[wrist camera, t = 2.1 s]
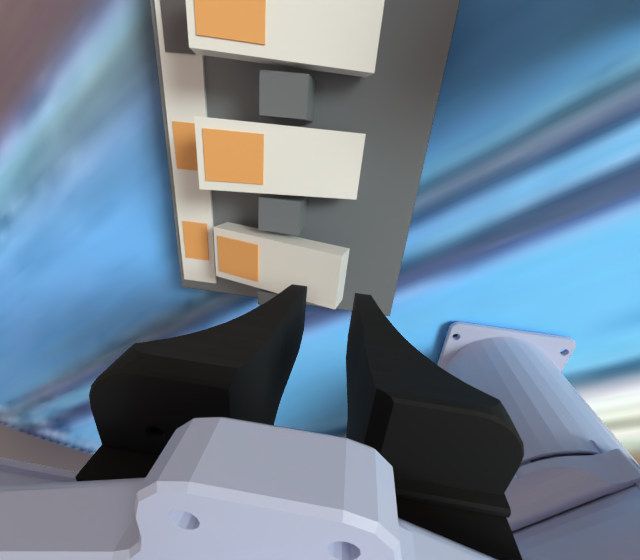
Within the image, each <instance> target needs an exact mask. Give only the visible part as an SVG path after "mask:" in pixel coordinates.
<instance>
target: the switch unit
mask: <svg viewBox="0 0 640 560" xmlns="http://www.w3.org/2000/svg"><path fill="white" fill-rule="evenodd" d="M459 3H460V0H385V2H384V9H383V16H382V23H381V30H380V37H379V44H378V51H377V58H376V65H375V72H374V74H372V75H370V76H368V77H359V76H352V75H345V74H337V73H330V72H323V71H315V70H308V69H301V68H293V67H286V66H279V65H271V64H264V63H257V62H249V61H242V60H235V59H227V58H220V57H213V56H205V55H198V54H195V53H194V52H193V51H192V50H191V49H190V48H189V40H188V27H187V13H186V0H150V6H151V15H152V24H153V33H154V42H155V51H156V60H157V68H158V77H159V86H160V95H161V104H162V113H163V122H164V131H165V140H166V149H167V158H168V167H169V176H170V184H171V193H172V202H173V211H174V220H175V229H176V238H177V247H178V256H179V265H180V274H181V283H182V287H187V288H194V289H201V290H208V291H215V292H223V293H230V294H237V295H244V296H251V297H258V304H260V305H262V304H264V303H266V302H267V301H269V300H270V299H272V298H273V297H275V296H276V295H277V294H278V293H274V292H271V291H267V290H264V289H260V288H257V287H253V286H250V285H246V284H243V283H239V282H236V281H232V280H228V279H225V278H221V277H218V276H216V264H215V247H214V230H213V227H214V226H217V225H220V224H223V223H226V222H230V223H235V224H240V225H244V226H249V227H253V228H258V230H262V231H270V232H276V233H281V234H286V235H290V236H295V237H299V238H304V239H309V240H313V241H318V242H322V243H327V244H332V245H336V246H341V247H345V248H350V250H349V257H348V264H347V271H346V278H345V285H344V292H343V299H342V301H341V302H340V303H339V305H338V306H337V308H336V309H343V310H350V311H352V309H353V302H354V296H355V293H360V294H367V295H371V296H372V297H373V299H374V300H375V302H376V303H377V305H378V306H379V308H380V309H381V311H382V312H383V314H384V315H386V316H390V312H391V308H392V303H393V299H394V294H395V290H396V285H397V281H398V276H399V272H400V267H401V263H402V258H403V254H404V249H405V245H406V240H407V236H408V231H409V227H410V222H411V218H412V213H413V209H414V205H415V200H416V196H417V191H418V187H419V182H420V178H421V173H422V169H423V164H424V160H425V155H426V151H427V146H428V142H429V137H430V133H431V128H432V124H433V119H434V115H435V110H436V106H437V101H438V97H439V92H440V88H441V83H442V79H443V75H444V70H445V66H446V61H447V57H448V52H449V48H450V43H451V39H452V34H453V30H454V25H455V21H456V16H457V12H458V7H459ZM194 116H199V117H209V118H218V119H228V120H238V121H247V122H257V123H266V124H276V125H285V126H295V127H305V128H314V129H324V130H333V131H343V132H353V133H362V134H366V136H365V143H364V150H363V157H362V164H361V171H360V178H359V185H358V192H357V199H356V200H354V199H339V198H324V197H309V196H294V195H279V194H264V193H249V192H234V191H219V190H204V189H199V176H198V163H197V149H196V136H195V122H194ZM306 304H308V305H315V306H320V305H317V304H313V303H310V302H306ZM322 307H324V306H322Z"/></svg>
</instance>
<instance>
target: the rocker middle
mask: <svg viewBox="0 0 640 560" xmlns="http://www.w3.org/2000/svg"><path fill="white" fill-rule="evenodd" d="M194 122H195V136H196V149H197V163H198V176H199V189H204V190H219V191H234V192H249V193H264V194H279V195H294V196H309V197H324V198H339V199H354V200H356V199H357V192H358V185H359V178H360V171H361V164H362V157H363V150H364V143H365V136H366V134H362V133H353V132H343V131H333V130H324V129H314V128H305V127H295V126H285V125H276V124H266V123H257V122H247V121H238V120H228V119H218V118H209V117H199V116H194Z"/></svg>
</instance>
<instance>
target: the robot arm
mask: <svg viewBox="0 0 640 560" xmlns="http://www.w3.org/2000/svg"><path fill="white" fill-rule="evenodd" d="M306 297H307V286H301V285H294V284H292V285H290V286H289V287H287V288H286V289H284V290H283V291H282V292H280V293H279V294H277V295H276V296H275V297H273V298H272V299H270V300H269V301H267V302H266V303H264V304H262V305H260V306H259V307H257V308H255V309H254V310H252V311H250V312H248V313H246V314H244V315H242V316H240V317H238V318H236V319H233V320H231V321H229V322H226V323H223V324H220V325H217V326H215V327H212V328H209V329H206V330H202V331H199V332H195V333H191V334H187V335H183V336H178V337H174V338H169V339H162V340H156V341H149V342H143V343H135V344H134V345H132V346H131V347H130V348H129V349H128V350H127V351H126V352H125V353H124V354H122V355H121V356H120V357H119V358H118V359H117V360H116V361H115V362H114V363H113V364H112V365H110V366H109V367H108V368H107V369H106V370H105V371H104V372H103V373H102V374H101V375H100V376H98V378H97V379H96V380H95V381H94V383H93V384H92V385H91V390H90V394H89V398H90V404H91V410H92V413H93V416H94V420H95V423H96V426H97V429H98V432H99V435H100V439H101V442H102V445H101V447H100V448H99V449H98V450H97V451H96V453H95V454H94V455H93V456H92V457H91V459H90V460H89V461H88V462H87V464H86V465H85V466H84V467H83V468H82V469H81V471H80V472H76V471H70V470H65V469H60V468H54V467H49V466H43V465H38V464H33V463H27V462H22V461H17V460H11V459H6V458H1V457H0V560H640V465H639V464H638V463H637V462H636V461H635V459H634V458H633V457H632V456H631V455H630V453H629V452H628V451H627V450H626V449H625V448H624V446H623V445H622V444H621V443H620V442H619V440H618V439H617V438H616V437H615V436H614V435H613V433H612V432H611V431H610V430H609V429H608V427H607V426H606V425H605V424H604V423H603V422H602V420H601V419H600V418H599V417H598V416H597V414H596V413H595V412H594V411H593V410H592V409H591V407H590V406H589V405H588V404H587V403H586V401H585V400H584V399H583V398H582V397H581V396H580V394H579V393H578V392H577V391H576V390H575V389H574V387H573V386H572V385H571V384H570V383H569V381H568V380H567V379H566V378H565V377H564V376H563V374H562V373H561V372H562V370H563V369H564V367H565V365H566V363H567V361H568V360H569V358H570V356H571V354H572V352H573V351H574V349H575V347H576V342H575V341H574V340H573V339H572V338H570V337H565V336H558V335H550V334H543V333H536V332H529V331H522V330H515V329H508V328H500V327H493V326H486V325H479V324H472V323H465V322H454V323H452V324H451V325H450V327H449V329H448V332H447V336H446V339H445V342H444V345H443V348H442V351H441V354H440V357H439V360H438V363H437V365H436V364H435V363H434V362H432V361H431V360H430V359H428V358H427V357H425V356H424V355H423V354H422V353H420V352H419V351H418V350H417V349H416V348H415V347H414V346H412V345H411V344H410V343H409V342H408V341H407V340H406V339H405V338H404V337H403V336H402V335H401V334H400V333H399V332H398V331H397V330H396V329H395V327H394V326H393V325H392V324H391V323H390V321H389V320H388V319H387V318H386V316H385V315H384V314H383V312H382V311H381V309H380V308H379V306H378V305H377V303H376V302H375V300H374V299H373V297H372V296H371V295H367V294H360V293H355V296H354V302H353V309H352V315H351V321H350V327H349V333H348V342H347V353H346V371H347V399H348V422H347V437H346V438H345V437H339V436H333V435H327V434H321V433H315V432H309V431H304V430H298V429H292V428H286V427H280V426H274V421H275V418H276V414H277V410H278V406H279V403H280V400H281V397H282V394H283V392H284V389H285V386H286V384H287V381H288V379H289V376H290V373H291V371H292V368H293V365H294V363H295V360H296V357H297V355H298V352H299V348H300V344H301V340H302V335H303V331H304V321H305V309H306ZM454 334H458V336H456V337H453V335H454ZM564 349H565V350H564ZM562 350H564V351H563V352H561V351H562Z"/></svg>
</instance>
